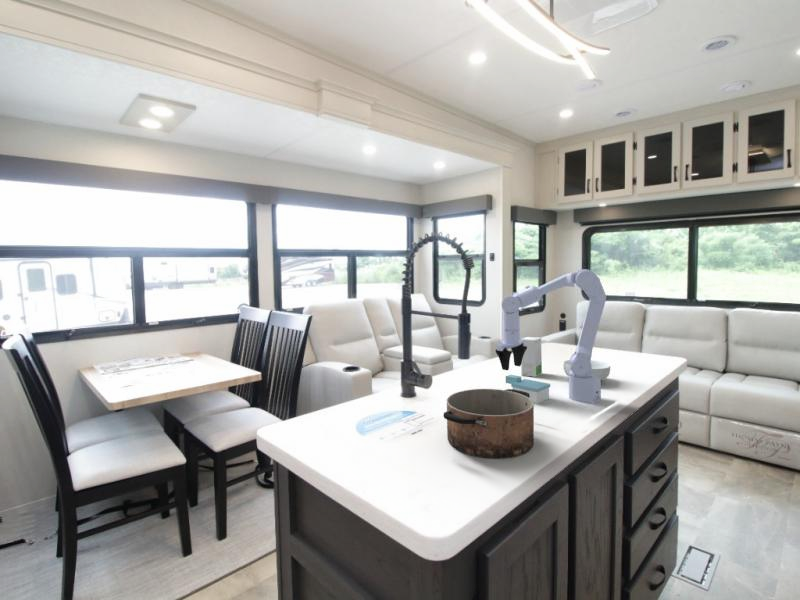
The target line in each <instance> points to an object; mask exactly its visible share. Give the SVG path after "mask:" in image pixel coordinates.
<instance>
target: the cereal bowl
mask: <svg viewBox="0 0 800 600" xmlns="http://www.w3.org/2000/svg"><path fill="white" fill-rule="evenodd" d="M570 366H571V364H570V359H568V360H565V361H563V370H564V373H565V375H566V376H568V377H569V372H570V371H571V367H570ZM591 366H592V369H591V372H592V376H594V377H597V378H599V379H600V381H604V380H606V379H607V378H608V377H609V375H610V372H611V365H610V364H609V363H606V362H604V361H599V360H594V359H593V360H592V359H591Z"/></svg>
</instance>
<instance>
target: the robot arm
mask: <svg viewBox="0 0 800 600" xmlns="http://www.w3.org/2000/svg"><path fill="white" fill-rule="evenodd" d="M575 285H576V286H577V287H578V288H579V289H581V290H582V291H584V294H585V295H586V296H587V298H588V299H589V301H588V305H587V308H586V312H585V316H584V320H583V324H582V326H581V327H582V328H581V330H580V335H579V337H578V342H577V345H576V348H575V351H574V353H573V354H572V355H571V356H570V357H569V360H570V364H571V366H570V367H571V371H570V372H569V376H568V399H569V400H571V401H574V402H579V403H580V402H582V403H586V404H591V405H595V404H596V403H598V402H600V401H601V397H602V383H601V381H602V380H601V381H600V379H599V378H597V377H594V376H592V372H591V369H592V366H591V360H592V357H593V355H592V353H593V348H594V345H595V341H596V337H597V334H598V330H599V326H600V323H601V320H602V315H603V311H604V308H605V304H606V301H607V294H606V292H605V290H604V287H603V285H602V283H601V279H600V278H599V277H598V275H597V274H596V273H595V272H594V271H593V270H591V269H586V268H582V269H579V270H577V271H572V272H568V273H566V274H563V275H561V276H559V277H557V278H555V279H552V280H550V281H548V282H546V283H544V284H542V285H540V286H535V285H531V286H530V285H527V286H525V287H524V289H522V290H520V291H517V292H516V291H514V292H512V293H511V294H512V295H507V296H506V297H504V298H503V300H502V301H501V308H502V340H501V341H500V343H498V344H497V345H496V348H495V353H496V355H497V357H498V359H499V361H500V365H501V368H502V370H503V371H509V370H510V369H509V368H510V361H511V356H512V355H513V364H514V366H515V367H521V363H522V359H523V355H524V353H525V351H526V349H527V346H523V345H525V340H523V339H522V338H520V335H521V334H520V333H521V332H520V327H521V326H520V315H519V314H520V312H519V311H520V310H519V309H520V308H522V309H523V308H527V307H528V306H531V305H533V304H536V303H537V302H540V301H541V299H542V296H544V295H546V294H549V293H551V292H554V291H556V290H559V289H561V288H564V287H571V288H573V287H574V288H575ZM509 349H511V350H509Z"/></svg>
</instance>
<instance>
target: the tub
mask: <svg viewBox="0 0 800 600" xmlns="http://www.w3.org/2000/svg"><path fill="white" fill-rule="evenodd" d="M512 389H514V390H519V391H523V392H527V393H529V394H530V397H529V398H530V399H531V400H532V401H533V404H535V405H539V404H540V403H542V402H544V401H546V400H547V401H548V400H549V399H550V387H548V388H546V389H544V390H541V391H539V392H533V391H529V390H524V389H520V388H515V387H512Z"/></svg>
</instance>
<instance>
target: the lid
mask: <svg viewBox="0 0 800 600" xmlns="http://www.w3.org/2000/svg"><path fill="white" fill-rule="evenodd" d="M505 383H506V384H510V387H511V388H513V387H515V388H520V389H524V390H529V391H533V392H539V391H541V390H544V389H546V388H548V387H549V388H551V383H549V382H548V383H547V382H542V381H537V380H534V379H527V378H524V379H522V375H521V376H520V375H515V374H507V375H505Z"/></svg>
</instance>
